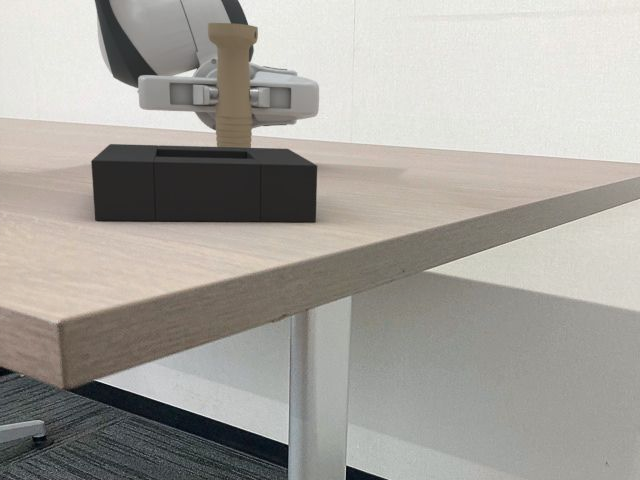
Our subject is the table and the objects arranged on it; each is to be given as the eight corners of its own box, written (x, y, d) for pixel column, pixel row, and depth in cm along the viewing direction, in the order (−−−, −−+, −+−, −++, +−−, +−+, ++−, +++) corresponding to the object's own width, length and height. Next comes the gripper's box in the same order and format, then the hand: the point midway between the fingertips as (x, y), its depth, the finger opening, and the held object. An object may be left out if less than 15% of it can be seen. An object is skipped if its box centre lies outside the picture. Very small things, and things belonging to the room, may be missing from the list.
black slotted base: (95, 220, 52) (91, 160, 51) (112, 191, 66) (109, 143, 65) (315, 222, 55) (317, 165, 54) (287, 194, 69) (288, 148, 68)
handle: (263, 171, 87) (264, 29, 83) (246, 177, 81) (246, 23, 77) (222, 169, 88) (220, 27, 83) (203, 174, 82) (199, 22, 77)
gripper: (137, 63, 91) (131, 59, 78) (308, 71, 95) (328, 69, 83) (139, 119, 93) (134, 124, 80) (307, 124, 97) (327, 130, 85)
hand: (234, 96), depth 81 cm, fingers closed on handle, 3 cm apart
